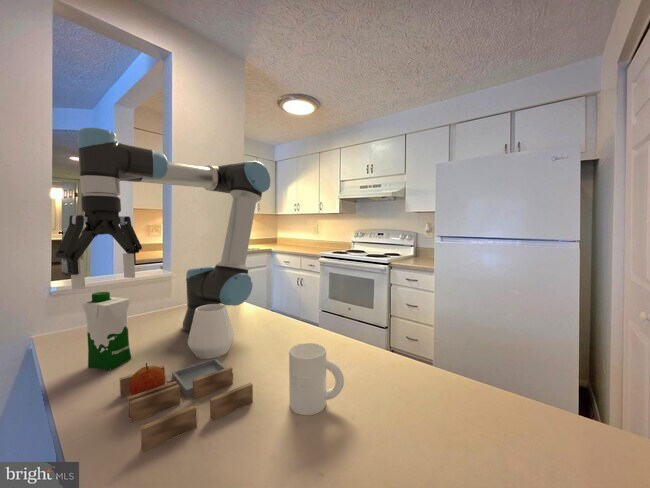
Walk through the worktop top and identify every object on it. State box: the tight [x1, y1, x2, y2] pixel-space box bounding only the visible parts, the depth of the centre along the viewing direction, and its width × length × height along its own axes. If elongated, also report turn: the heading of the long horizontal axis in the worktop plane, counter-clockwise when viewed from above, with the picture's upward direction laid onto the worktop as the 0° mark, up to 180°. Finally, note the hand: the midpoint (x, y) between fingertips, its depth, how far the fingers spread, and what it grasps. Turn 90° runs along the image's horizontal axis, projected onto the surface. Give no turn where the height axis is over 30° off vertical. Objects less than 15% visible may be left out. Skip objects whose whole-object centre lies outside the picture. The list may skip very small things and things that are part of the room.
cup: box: [187, 304, 235, 360], centre depth 89 cm, size 13×13×14 cm
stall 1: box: [119, 365, 177, 419], centre depth 66 cm, size 9×11×4 cm
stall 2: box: [129, 385, 198, 453], centre depth 57 cm, size 9×11×4 cm
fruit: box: [129, 362, 166, 396], centre depth 65 cm, size 7×7×8 cm
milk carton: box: [82, 291, 132, 371], centre depth 81 cm, size 9×9×20 cm
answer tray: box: [171, 358, 234, 398], centre depth 74 cm, size 11×11×2 cm
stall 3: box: [192, 366, 254, 421], centre depth 65 cm, size 9×11×4 cm
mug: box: [288, 342, 345, 416], centre depth 63 cm, size 8×12×12 cm
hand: (106, 282), depth 72 cm, fingers open, 13 cm apart
